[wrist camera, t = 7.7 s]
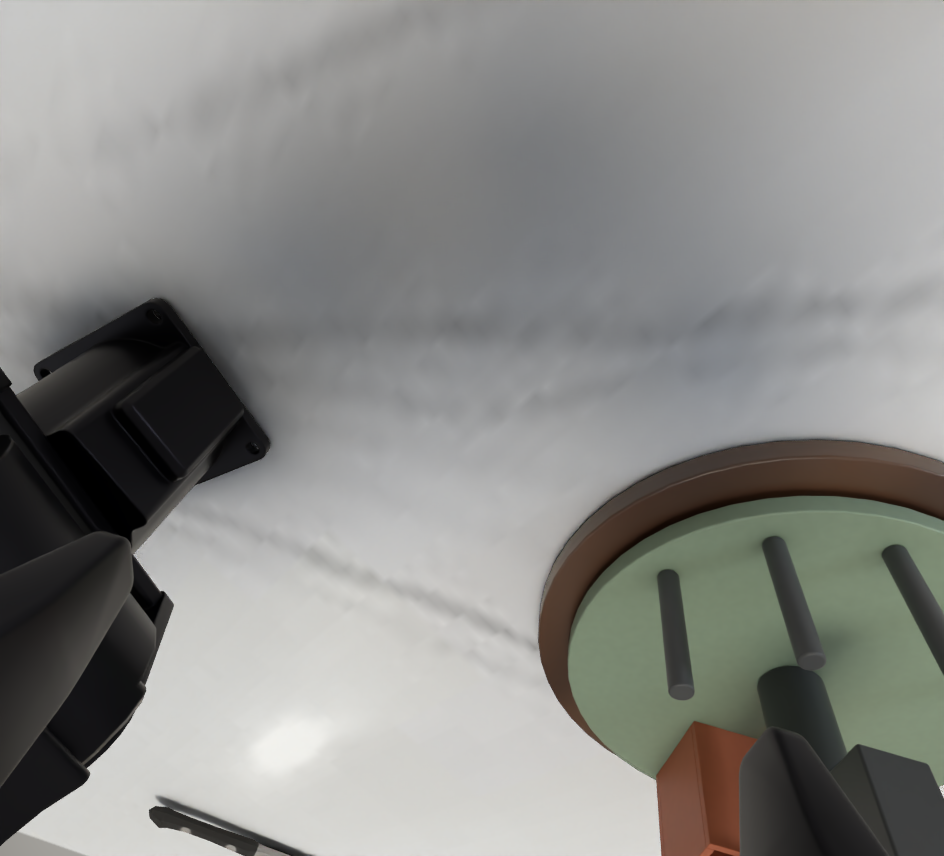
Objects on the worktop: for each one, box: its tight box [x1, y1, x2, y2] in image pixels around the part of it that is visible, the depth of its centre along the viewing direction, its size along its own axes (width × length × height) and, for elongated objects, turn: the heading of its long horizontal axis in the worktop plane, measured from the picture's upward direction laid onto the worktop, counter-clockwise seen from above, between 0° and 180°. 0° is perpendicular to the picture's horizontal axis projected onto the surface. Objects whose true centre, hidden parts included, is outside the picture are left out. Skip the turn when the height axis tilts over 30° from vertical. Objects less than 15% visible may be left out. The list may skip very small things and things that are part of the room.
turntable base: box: [538, 440, 944, 755], centre depth 25 cm, size 18×18×1 cm
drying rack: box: [568, 496, 944, 856], centre depth 20 cm, size 16×16×11 cm
